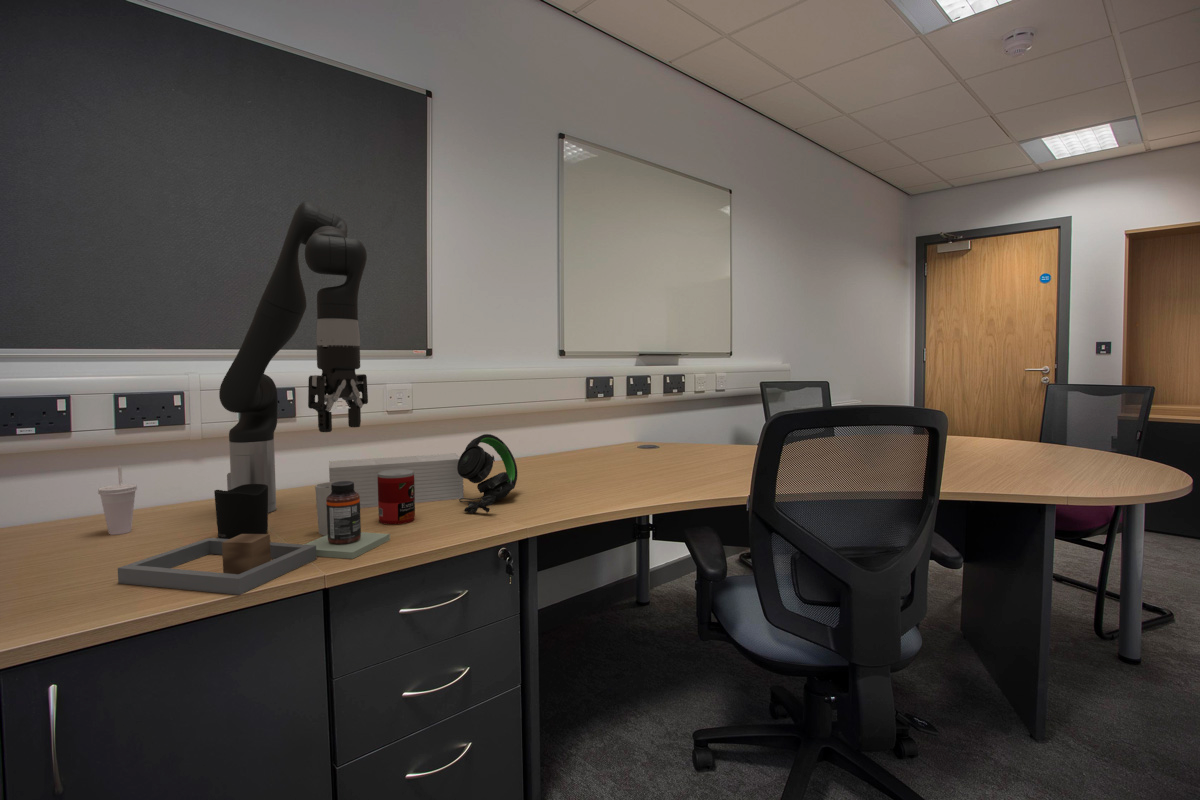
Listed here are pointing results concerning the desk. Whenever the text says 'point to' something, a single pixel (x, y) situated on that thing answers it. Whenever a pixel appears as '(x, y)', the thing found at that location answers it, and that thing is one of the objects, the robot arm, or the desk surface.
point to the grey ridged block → (430, 471)
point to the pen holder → (242, 510)
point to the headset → (487, 471)
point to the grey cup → (322, 505)
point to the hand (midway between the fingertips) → (340, 429)
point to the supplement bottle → (343, 513)
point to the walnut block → (245, 552)
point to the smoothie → (118, 505)
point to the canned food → (396, 496)
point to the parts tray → (161, 574)
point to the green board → (349, 545)
